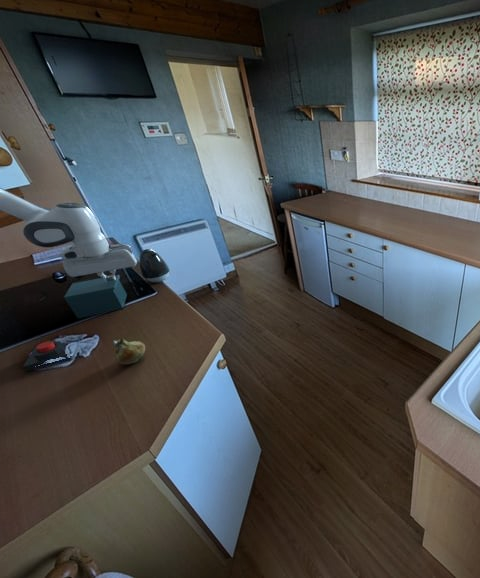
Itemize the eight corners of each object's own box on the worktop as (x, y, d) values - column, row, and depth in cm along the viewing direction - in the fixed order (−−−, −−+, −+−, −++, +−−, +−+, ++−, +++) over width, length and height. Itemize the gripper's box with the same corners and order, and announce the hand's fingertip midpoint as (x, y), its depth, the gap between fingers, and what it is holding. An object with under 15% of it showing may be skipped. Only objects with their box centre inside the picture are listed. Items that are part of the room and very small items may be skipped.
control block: (27, 371, 88) (18, 362, 85) (37, 355, 93) (29, 346, 91) (71, 359, 92) (64, 350, 90) (78, 344, 98) (71, 335, 96)
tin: (127, 294, 124) (117, 276, 120) (123, 308, 116) (112, 289, 111) (85, 303, 118) (73, 285, 114) (77, 318, 110) (64, 299, 105)
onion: (116, 372, 88) (103, 353, 83) (123, 355, 94) (111, 336, 90) (146, 365, 90) (135, 345, 86) (151, 348, 97) (141, 330, 92)
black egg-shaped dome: (157, 287, 130) (142, 256, 122) (140, 282, 133) (125, 252, 125) (177, 276, 138) (165, 247, 130) (162, 273, 141) (149, 243, 133)
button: (37, 354, 89) (34, 350, 88) (41, 347, 91) (38, 343, 90) (53, 350, 90) (50, 346, 89) (57, 343, 93) (54, 339, 92)
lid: (120, 276, 120) (119, 274, 120) (115, 289, 112) (114, 287, 111) (73, 284, 114) (72, 283, 113) (64, 299, 105) (63, 297, 105)
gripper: (130, 240, 114) (144, 271, 121) (59, 250, 105) (79, 283, 112) (127, 245, 110) (142, 277, 117) (53, 256, 101) (75, 290, 108)
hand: (111, 280), depth 114 cm, fingers closed
